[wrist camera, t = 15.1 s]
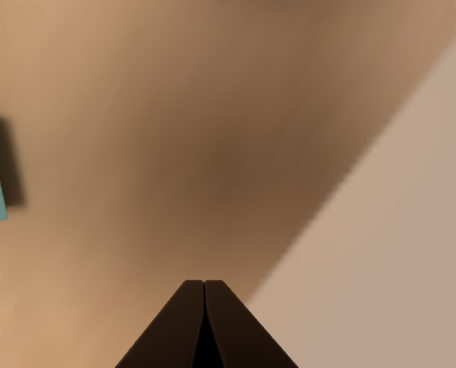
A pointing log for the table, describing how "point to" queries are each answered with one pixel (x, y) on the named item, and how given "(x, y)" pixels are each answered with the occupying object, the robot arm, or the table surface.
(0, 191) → the domino
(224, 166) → the table surface
